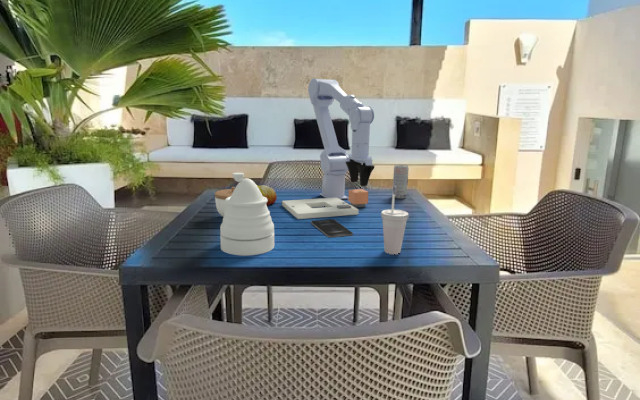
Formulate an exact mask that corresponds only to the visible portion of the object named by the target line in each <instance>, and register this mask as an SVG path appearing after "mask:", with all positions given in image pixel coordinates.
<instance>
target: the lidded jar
mask: <svg viewBox="0 0 640 400" xmlns="http://www.w3.org/2000/svg"><path fill="white" fill-rule="evenodd" d="M230 187H231V188H228V189H227V188H225V189H221V190H217V191H215V192H214V198H215V207H216V210H217V212H218V214H220V216H221V217H223V218H224V212H225V211H226V209H227V206H228V205H227V204H226V203H225V199H226V198H228V197H230V196H231V195H232V193H233V191H234V189H235V188H236V186H230ZM223 218H222V219H223Z"/></svg>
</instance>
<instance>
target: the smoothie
mask: <svg viewBox="0 0 640 400" xmlns="http://www.w3.org/2000/svg"><path fill="white" fill-rule="evenodd" d="M391 195H392V196H391V209H384V210H382V211H381V214H380V218H382V231H383V234H382V235H383V247H384V252H385V253H386V254H388V253H389V254H388V255H394V254H395V255H399V254H398V253H400V254H401V250H402V246H403V240H404V236H405V230H406V226H407V221H408V219H410V218H409V212H407V211H405V210H401V209H395V199H396V198H395V194H391Z"/></svg>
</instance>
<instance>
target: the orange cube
mask: <svg viewBox="0 0 640 400" xmlns="http://www.w3.org/2000/svg"><path fill="white" fill-rule="evenodd" d="M347 201H348V202H350V205H351V206H353V207H355V208H364V207H366V205H367V204H369V191H367V190H365V189H363V188H359V189H358V188H357V189H356V188H355V189H348V199H347Z"/></svg>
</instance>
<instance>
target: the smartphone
mask: <svg viewBox="0 0 640 400" xmlns="http://www.w3.org/2000/svg"><path fill="white" fill-rule="evenodd" d="M310 224H311V225H312V226H314V227H315V228H316V229H317V230H318V231H320V232H321V233H323V235H324V236H326V237H328V238H331V239H332V238H341V237H342V238H343V237H351V236H353V235H354V232H352V231H351V230H350V229H348V228H346V227H345V226H344V225H343V224H341V223H340V222H338V220H336V219H332V218H329V219H318V220H317V219H316V220H311V222H310Z"/></svg>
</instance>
